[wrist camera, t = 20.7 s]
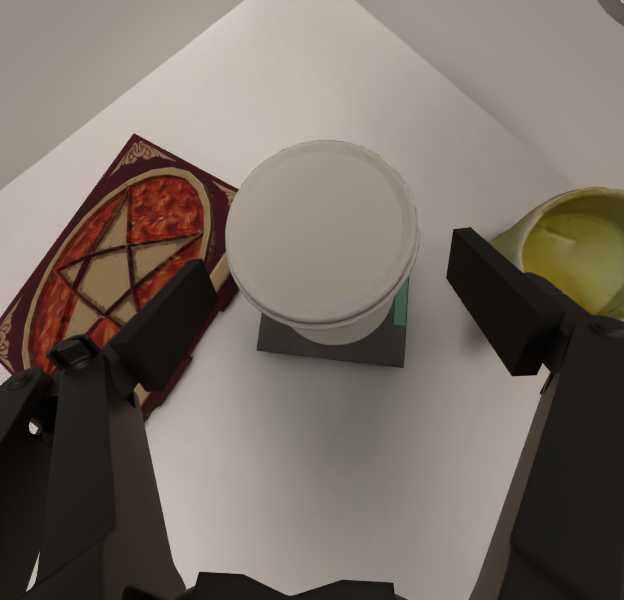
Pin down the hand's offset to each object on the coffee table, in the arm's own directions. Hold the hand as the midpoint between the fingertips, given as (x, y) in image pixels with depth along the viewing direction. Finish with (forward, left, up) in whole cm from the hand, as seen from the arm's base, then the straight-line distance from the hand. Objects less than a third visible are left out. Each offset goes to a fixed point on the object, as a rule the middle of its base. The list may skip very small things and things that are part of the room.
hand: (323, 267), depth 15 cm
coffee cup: (0, -1, -10) cm, 10 cm away
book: (+22, 0, -13) cm, 26 cm away
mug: (-16, -2, -13) cm, 21 cm away
